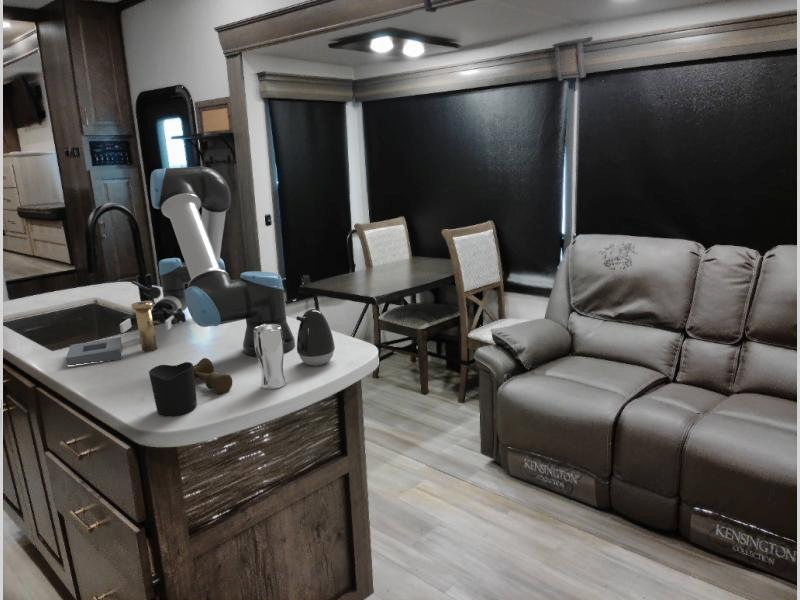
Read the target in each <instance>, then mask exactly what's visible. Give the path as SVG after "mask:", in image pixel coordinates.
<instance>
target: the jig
mask: <svg viewBox="0 0 800 600" xmlns="http://www.w3.org/2000/svg"><path fill="white" fill-rule="evenodd" d="M121 352H123V343H122V337H120V336H119V337H112V338H107V339H102V340H100V339H99V340H95V341H94V340H93V341H88V342H82V343H75V344H70V346H69V349H68V351H67V354H66V357H65V360H66V366H67V365H76V364H84V363H91V362H100V361H107V362H110V361H109V360H113V361H116V359H119V360H122V355H121Z"/></svg>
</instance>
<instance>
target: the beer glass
mask: <svg viewBox="0 0 800 600" xmlns="http://www.w3.org/2000/svg"><path fill="white" fill-rule="evenodd" d="M254 343H255V351H256V355H257V356H256V359H257V360H258V364H259V368H260V373H261V386H260V387H261V388H262V389H264V390H277V389H281V388H284V386H286V385H287V380H286V377H285V373H284V357H285V355H284V354H285V353H284V342H283V336H282V331H281V326H280V325H278V324H265V325H260V326H257V327H255V328H254Z"/></svg>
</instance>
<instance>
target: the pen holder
mask: <svg viewBox="0 0 800 600" xmlns="http://www.w3.org/2000/svg"><path fill="white" fill-rule="evenodd" d="M193 366H194V364H193V363H192V362H189V361H185V362H181V363H180V364H176V365H172V364H171V365H169V364H161V365H160V364H159V365H157V366H154V367H152V368H151V369H150V370H148V374H149V379H150V384H151V389H152V390H151V391H152V395H153V399H154V403H155V406H156V407H155V408H156V411H157V413H158V414H159V415H160V416H162V415H163V416H162V417H166V416H172V417H177V416H178V417H179V416H183V415H187V414H188V413H190V412H192V411H194V410H195V409H196V407H197V405H198V400H197V390H196V381H195V380H196V379H194V370H193Z"/></svg>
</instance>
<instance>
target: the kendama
mask: <svg viewBox="0 0 800 600" xmlns="http://www.w3.org/2000/svg"><path fill="white" fill-rule="evenodd" d="M193 370H194V379H195V380H196V379H200V380H201V381H203V382H204V383H205V386H206V387H207V388H208V389H210V390H214V392H215V393H216V394H219V395H222V394H226V393H228V392H229V391H230V390H231V389H232V386H233V378H232V376H231V375H230V374H228V373H220V372H219V371H215V368H214V365H213V363H212V361H211V360H210V359H209V358H208V357H207V358H206V357H203V358H202V359H200V360H199V361H198V363H196V364H195V365H194V364H193Z"/></svg>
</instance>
